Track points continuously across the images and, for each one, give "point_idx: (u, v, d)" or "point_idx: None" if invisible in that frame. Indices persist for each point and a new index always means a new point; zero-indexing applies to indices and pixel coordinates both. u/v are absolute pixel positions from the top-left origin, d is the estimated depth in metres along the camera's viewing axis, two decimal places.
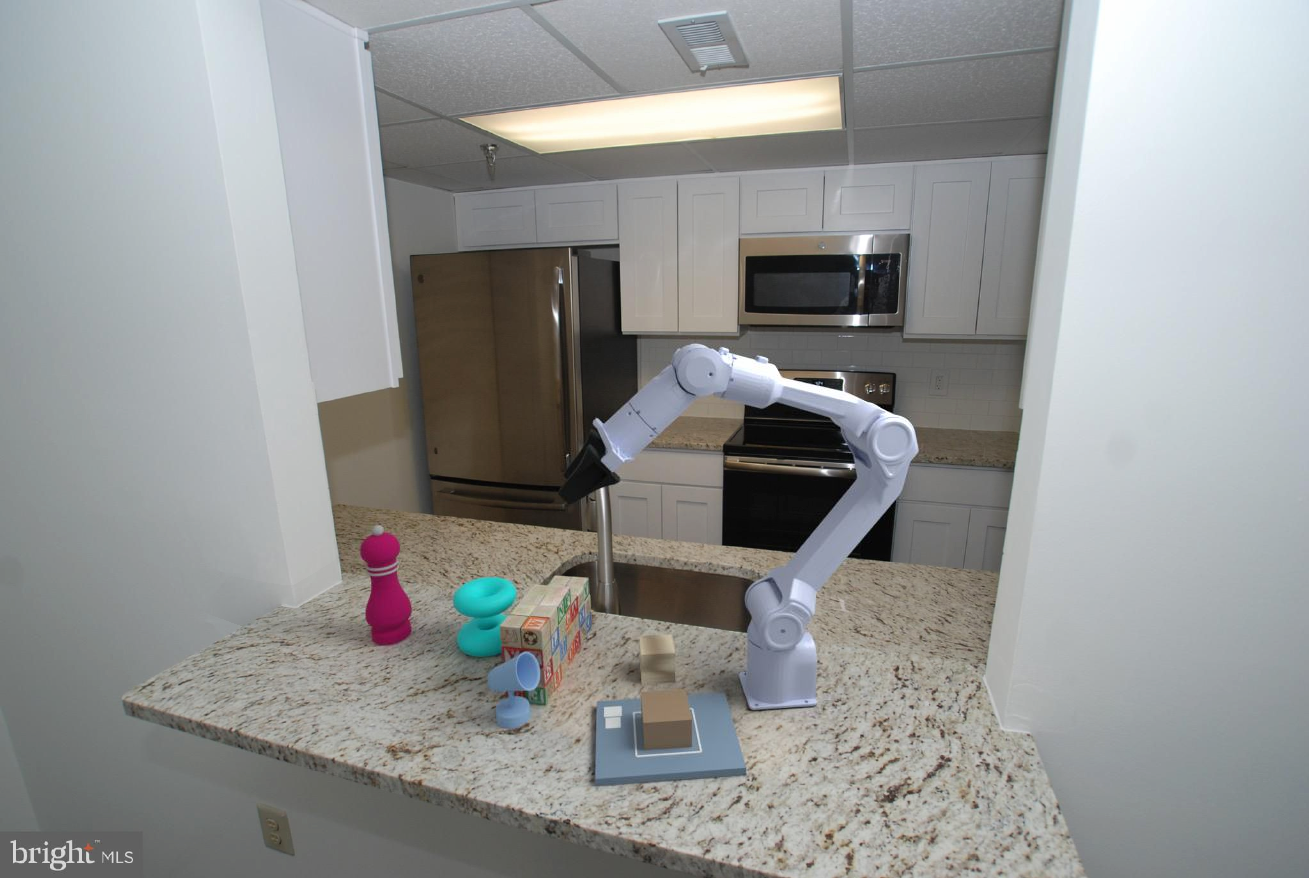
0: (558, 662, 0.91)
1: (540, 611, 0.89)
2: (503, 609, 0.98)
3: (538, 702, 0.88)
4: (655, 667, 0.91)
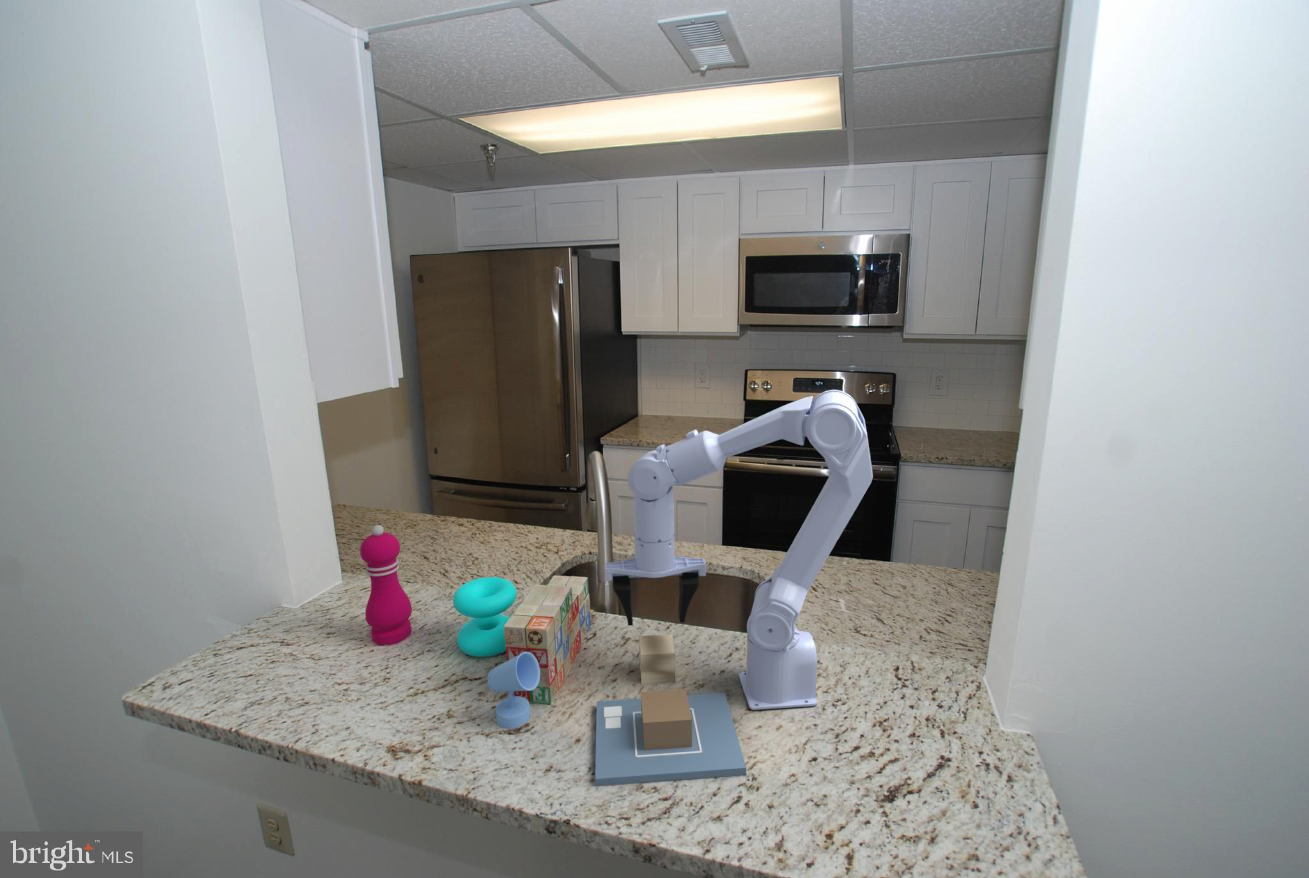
0: (561, 662, 0.92)
1: (544, 610, 0.89)
2: (503, 609, 0.98)
3: (543, 702, 0.88)
4: (655, 667, 0.91)
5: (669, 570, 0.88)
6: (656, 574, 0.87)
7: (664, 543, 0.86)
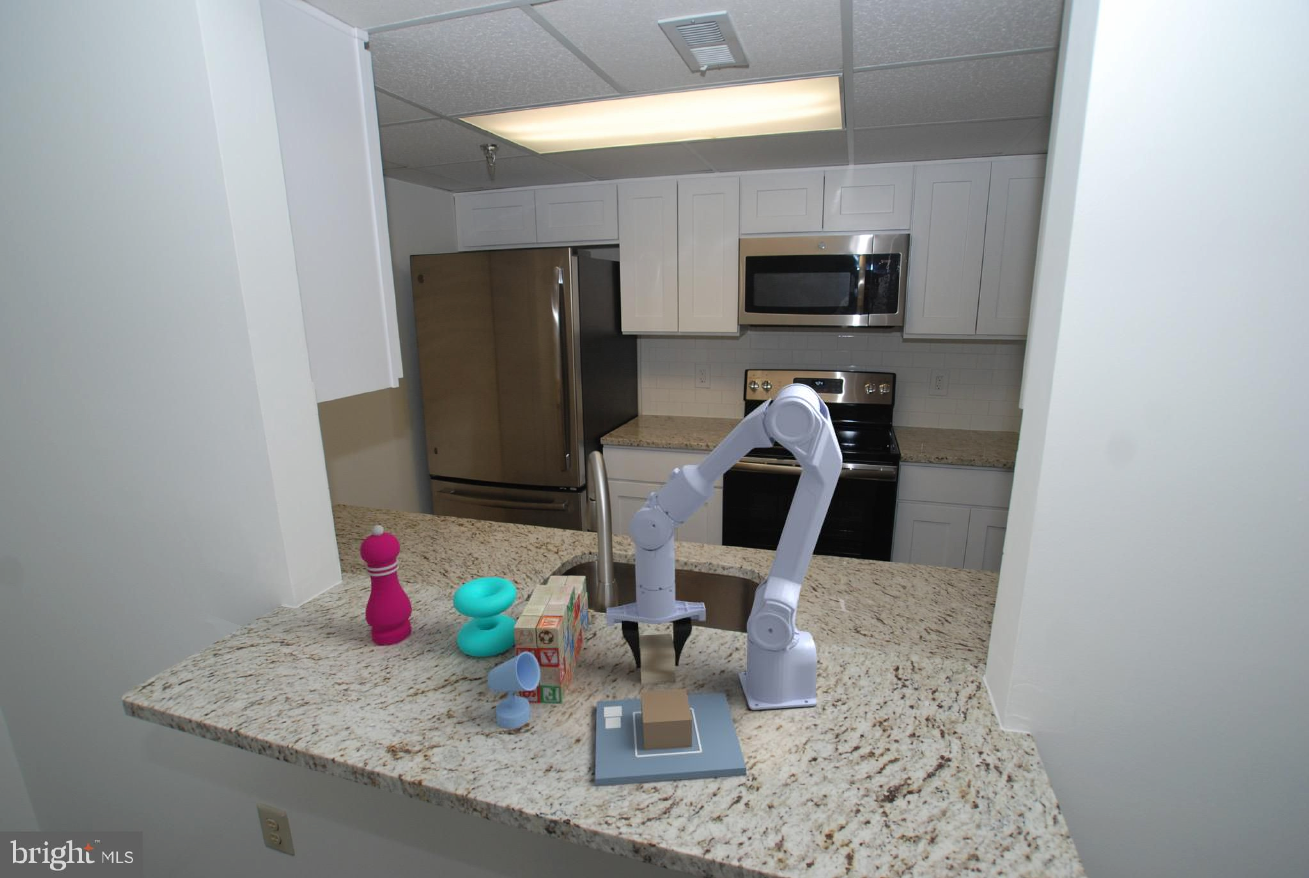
0: (569, 660, 0.92)
1: (551, 610, 0.89)
2: (503, 609, 0.98)
3: (553, 701, 0.88)
4: (655, 667, 0.91)
5: (670, 616, 0.89)
6: (657, 620, 0.89)
7: (665, 590, 0.88)
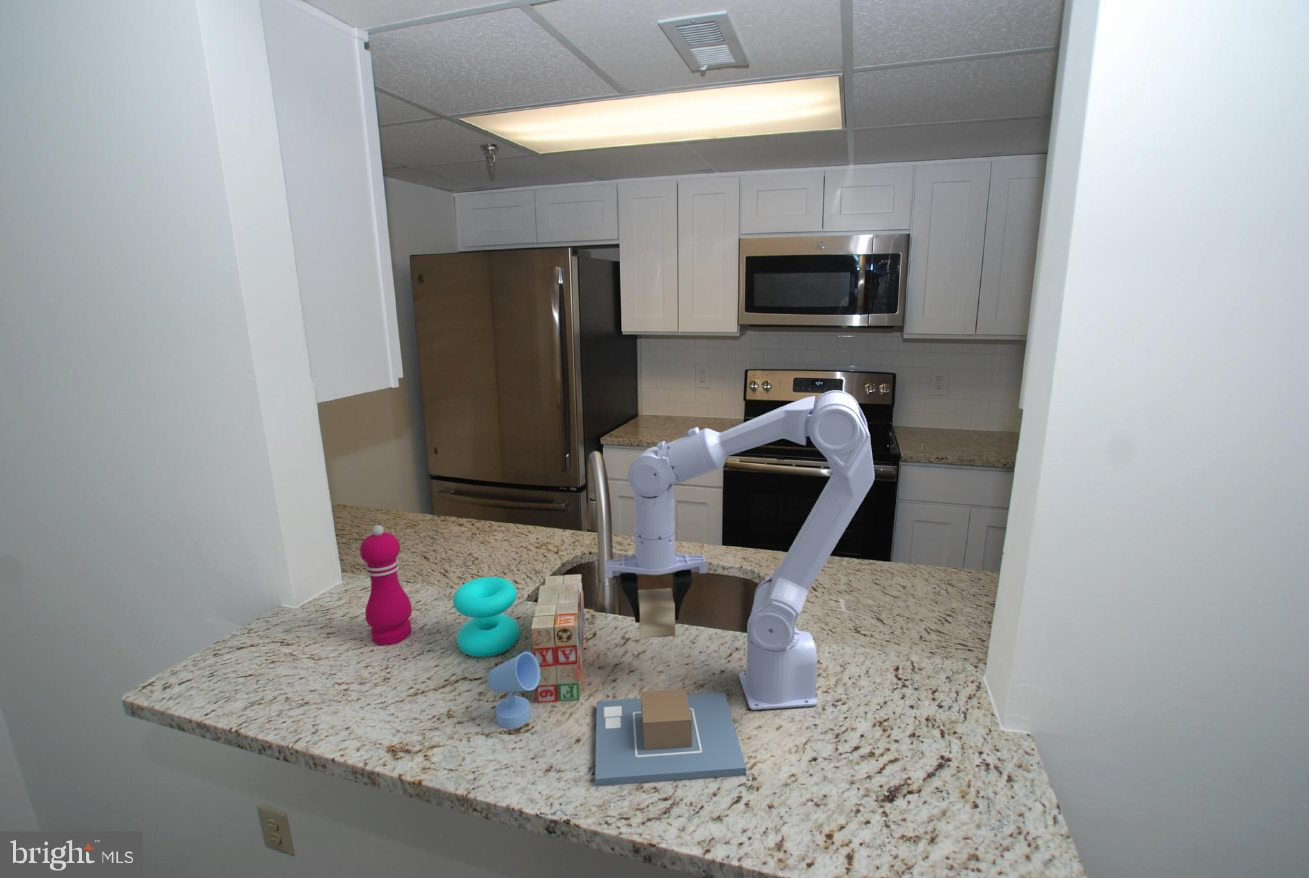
0: None
1: (564, 608, 0.89)
2: (503, 609, 0.98)
3: (571, 698, 0.88)
4: (655, 620, 0.89)
5: (669, 567, 0.87)
6: (656, 571, 0.87)
7: (664, 540, 0.86)
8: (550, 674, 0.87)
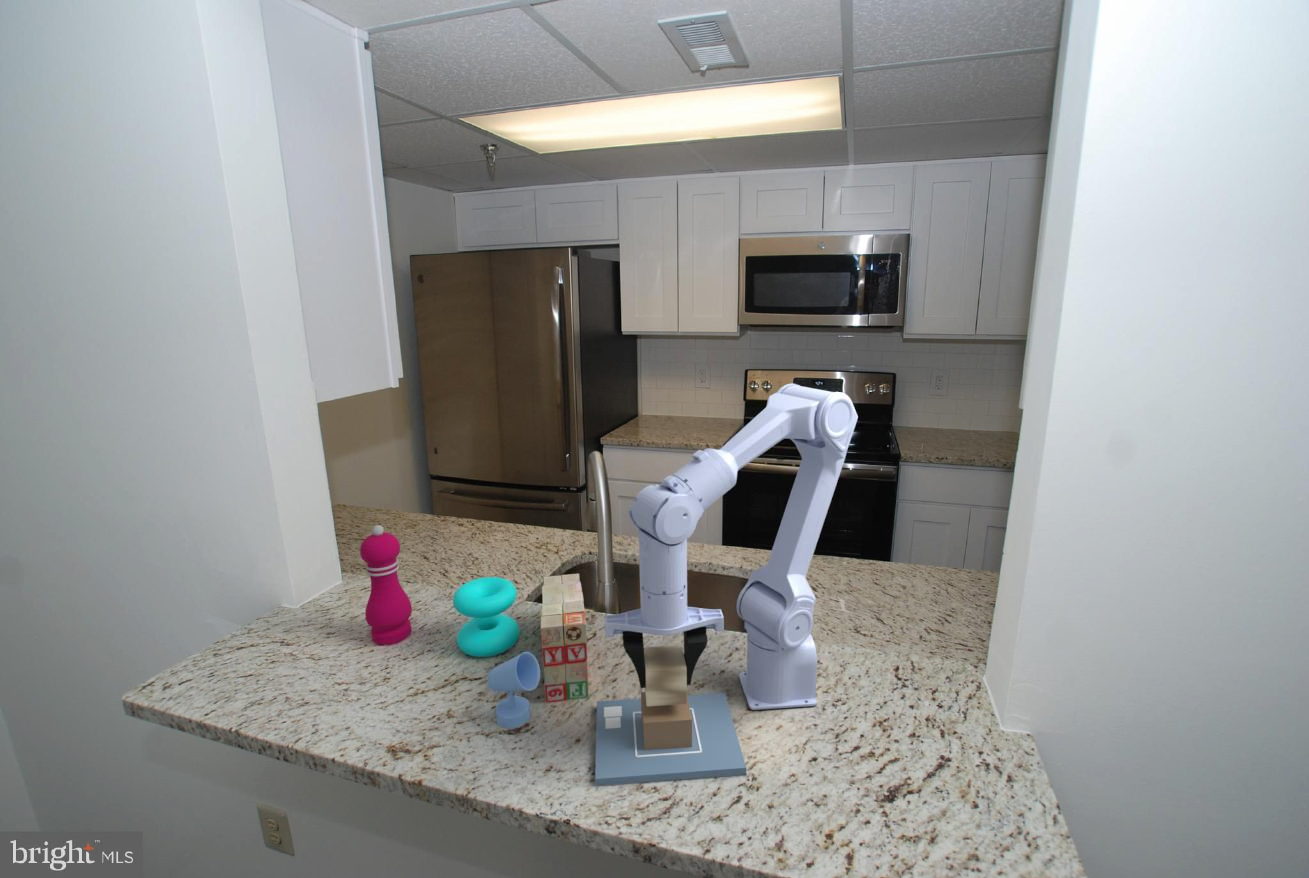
0: None
1: (571, 607, 0.90)
2: (503, 609, 0.98)
3: (580, 696, 0.89)
4: (663, 686, 0.76)
5: (681, 626, 0.74)
6: (666, 631, 0.73)
7: (675, 595, 0.73)
8: (559, 673, 0.87)
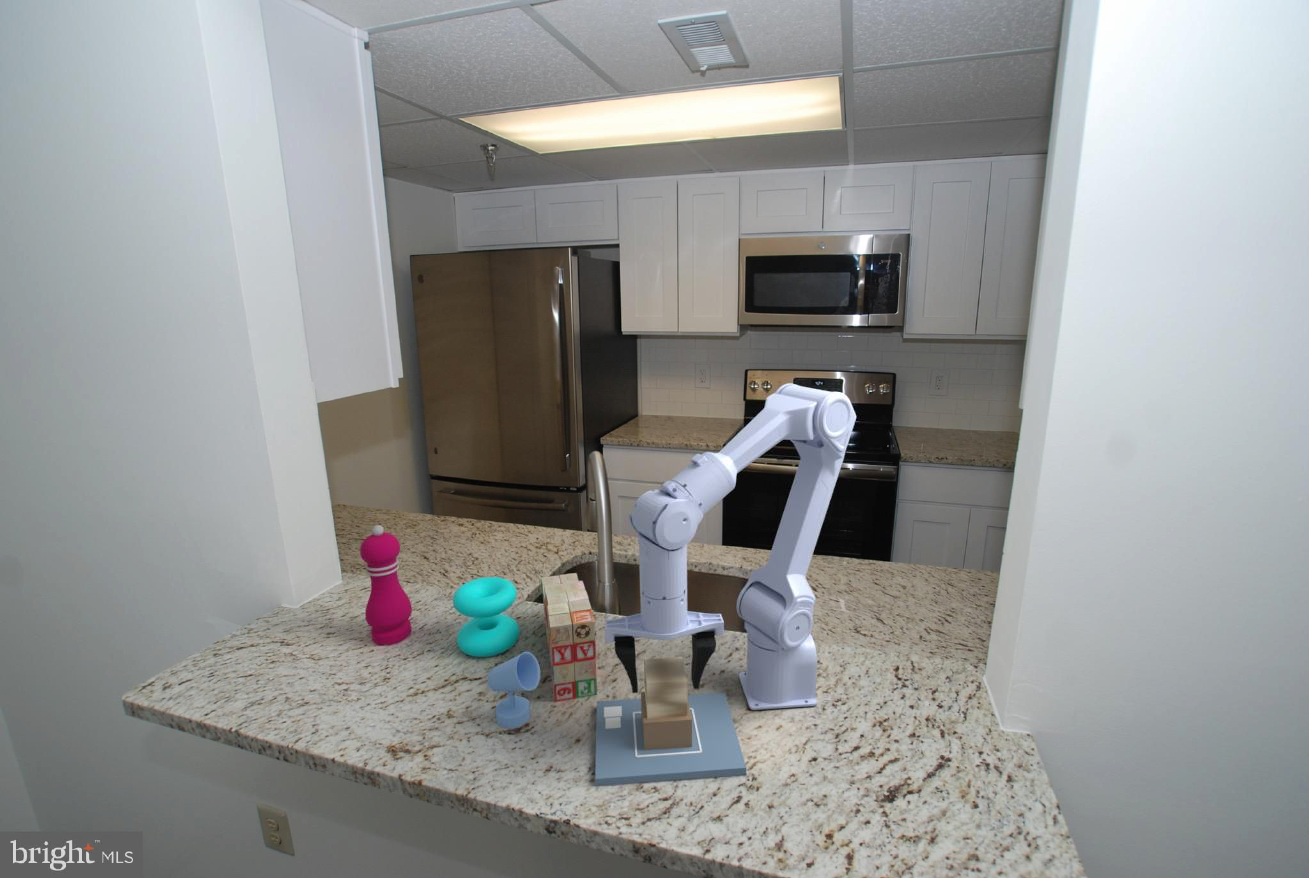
0: None
1: (577, 605, 0.90)
2: (503, 609, 0.98)
3: (588, 694, 0.89)
4: (664, 698, 0.77)
5: (681, 631, 0.74)
6: (666, 636, 0.74)
7: (676, 600, 0.73)
8: (568, 671, 0.87)
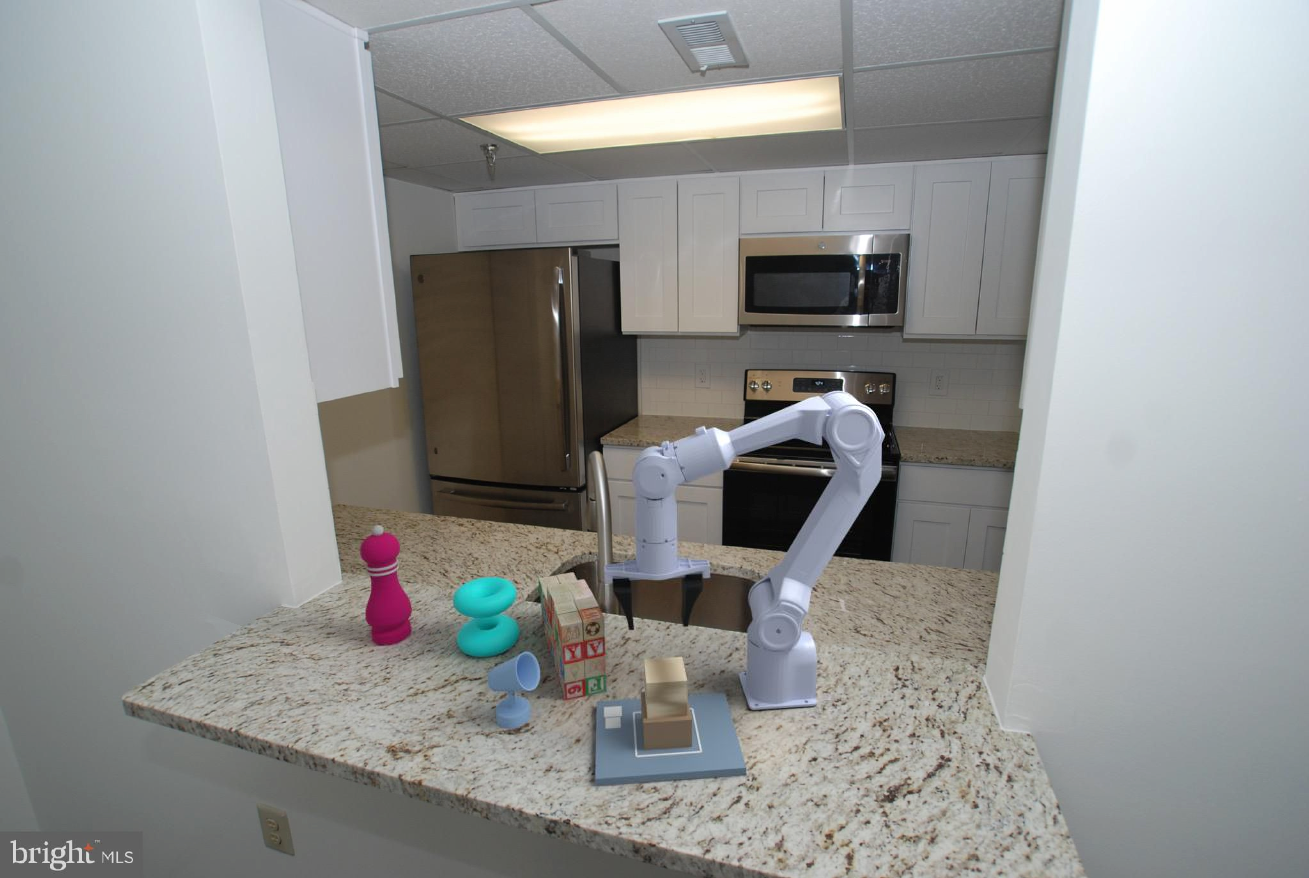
0: None
1: (584, 603, 0.91)
2: (503, 609, 0.98)
3: (598, 691, 0.90)
4: (664, 698, 0.77)
5: (672, 572, 0.83)
6: (658, 576, 0.83)
7: (667, 544, 0.82)
8: (579, 669, 0.88)
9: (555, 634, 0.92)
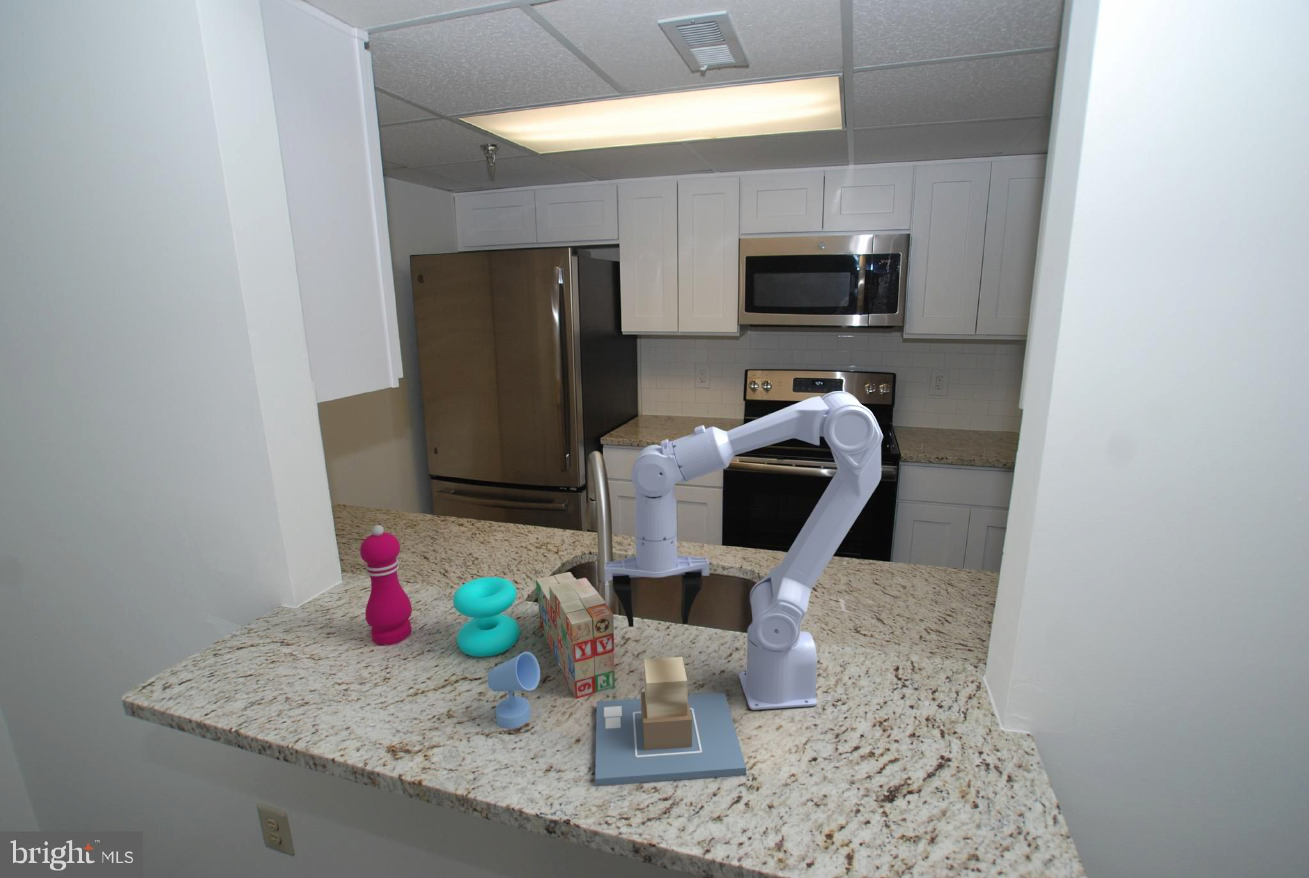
0: None
1: (590, 601, 0.91)
2: (503, 609, 0.98)
3: (607, 687, 0.91)
4: (664, 698, 0.77)
5: (671, 569, 0.84)
6: (658, 574, 0.84)
7: (666, 541, 0.83)
8: (589, 667, 0.88)
9: (561, 633, 0.92)
